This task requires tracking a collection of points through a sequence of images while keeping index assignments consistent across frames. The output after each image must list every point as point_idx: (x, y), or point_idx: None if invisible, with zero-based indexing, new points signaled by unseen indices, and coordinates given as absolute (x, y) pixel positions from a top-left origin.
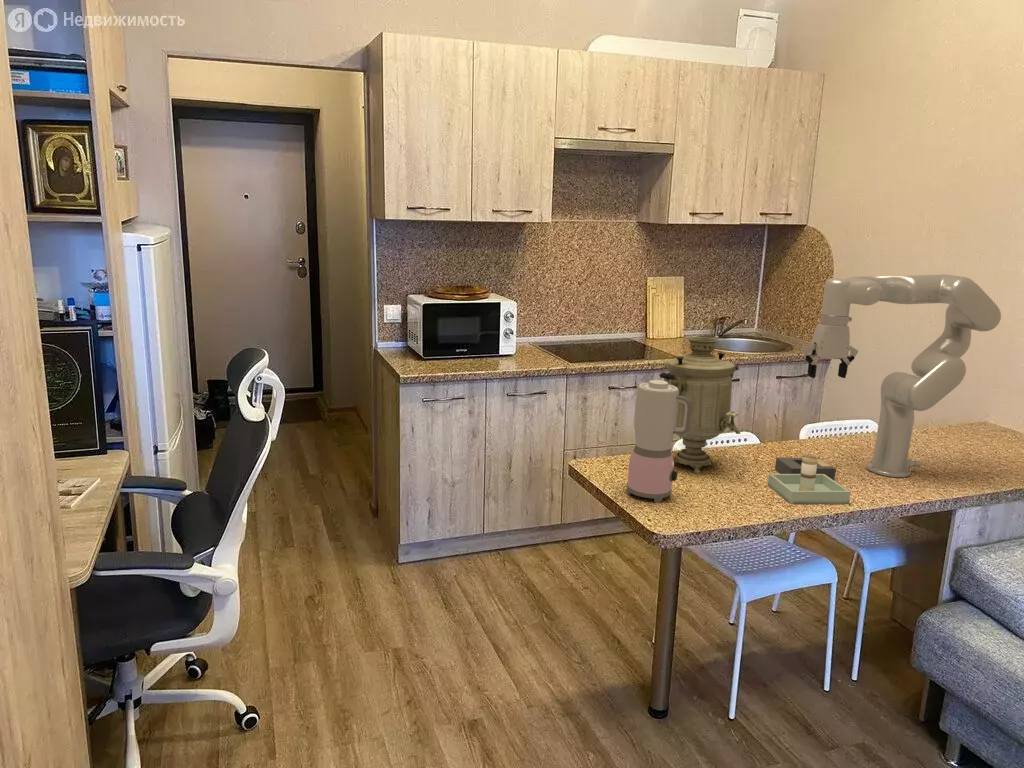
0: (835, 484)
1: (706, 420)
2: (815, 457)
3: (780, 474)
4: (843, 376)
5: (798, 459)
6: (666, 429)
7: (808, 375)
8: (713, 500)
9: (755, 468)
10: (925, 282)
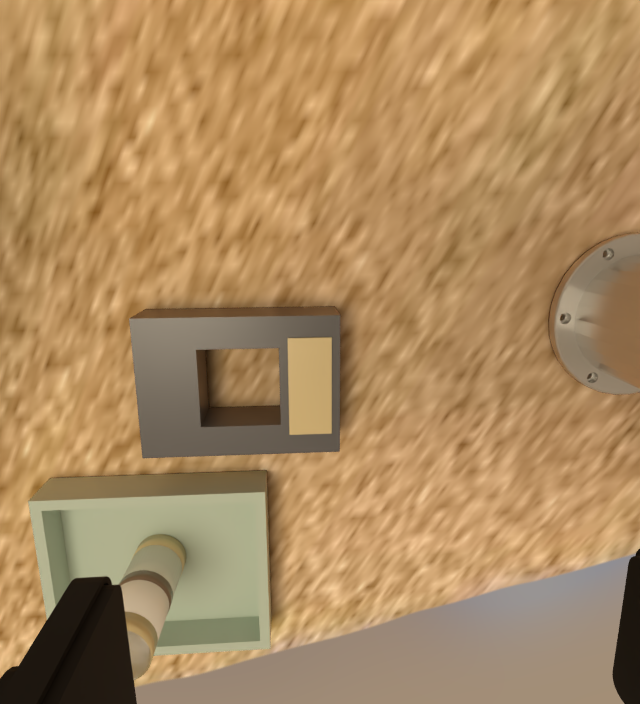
0: (258, 579)
1: None
2: (145, 653)
3: (75, 505)
4: (629, 702)
5: (227, 343)
6: None
7: (77, 592)
8: None
9: (63, 294)
10: None
